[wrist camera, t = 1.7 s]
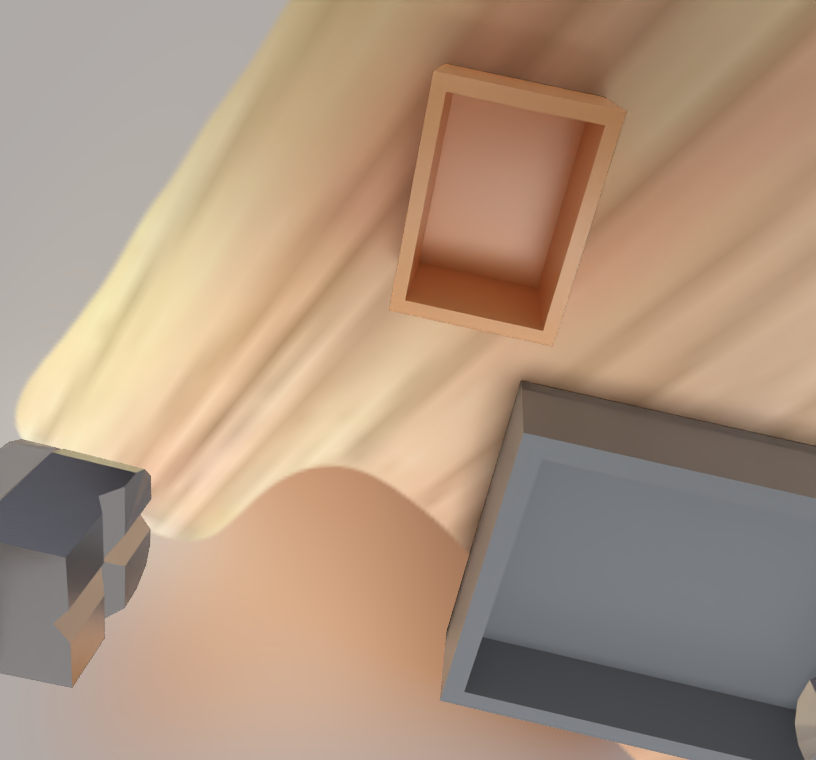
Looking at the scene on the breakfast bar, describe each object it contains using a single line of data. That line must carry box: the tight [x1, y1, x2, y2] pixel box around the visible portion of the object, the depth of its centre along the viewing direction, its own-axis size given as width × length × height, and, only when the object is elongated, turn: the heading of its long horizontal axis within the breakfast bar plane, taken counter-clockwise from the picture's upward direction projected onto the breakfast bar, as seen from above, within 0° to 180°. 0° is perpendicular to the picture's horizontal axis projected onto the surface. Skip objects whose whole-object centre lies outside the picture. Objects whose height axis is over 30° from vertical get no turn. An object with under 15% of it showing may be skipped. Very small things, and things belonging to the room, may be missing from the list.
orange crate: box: [389, 64, 626, 346], centre depth 25 cm, size 6×8×5 cm
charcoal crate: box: [440, 381, 816, 760], centre depth 33 cm, size 20×16×4 cm
